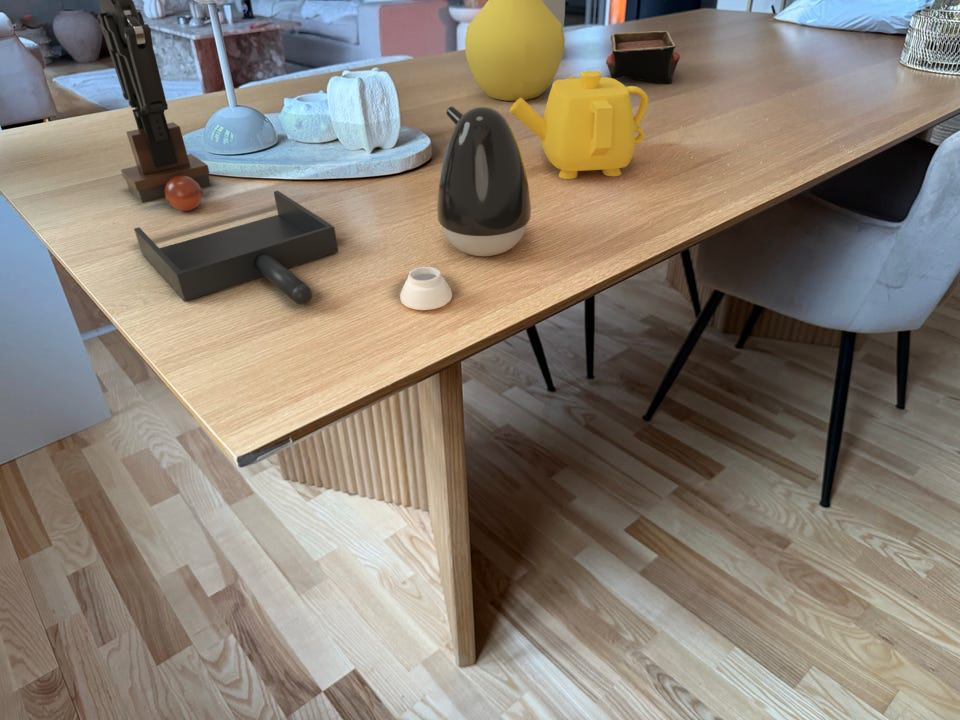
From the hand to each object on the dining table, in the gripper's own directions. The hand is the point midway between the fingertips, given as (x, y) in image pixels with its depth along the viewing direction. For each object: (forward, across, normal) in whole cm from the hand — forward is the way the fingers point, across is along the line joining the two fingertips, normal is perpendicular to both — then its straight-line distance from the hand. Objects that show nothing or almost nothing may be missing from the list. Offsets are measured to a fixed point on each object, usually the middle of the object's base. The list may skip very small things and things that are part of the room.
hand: (162, 161), depth 92 cm
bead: (+3, -6, 0) cm, 7 cm away
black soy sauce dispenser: (+5, -40, -22) cm, 46 cm away
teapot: (+5, -28, -48) cm, 56 cm away
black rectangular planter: (+5, +1, -96) cm, 96 cm away
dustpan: (+5, -29, 0) cm, 29 cm away
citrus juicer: (+5, +33, -93) cm, 99 cm away
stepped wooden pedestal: (+4, 0, 0) cm, 4 cm away
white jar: (+5, -46, -10) cm, 48 cm away
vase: (+5, +8, -68) cm, 69 cm away
